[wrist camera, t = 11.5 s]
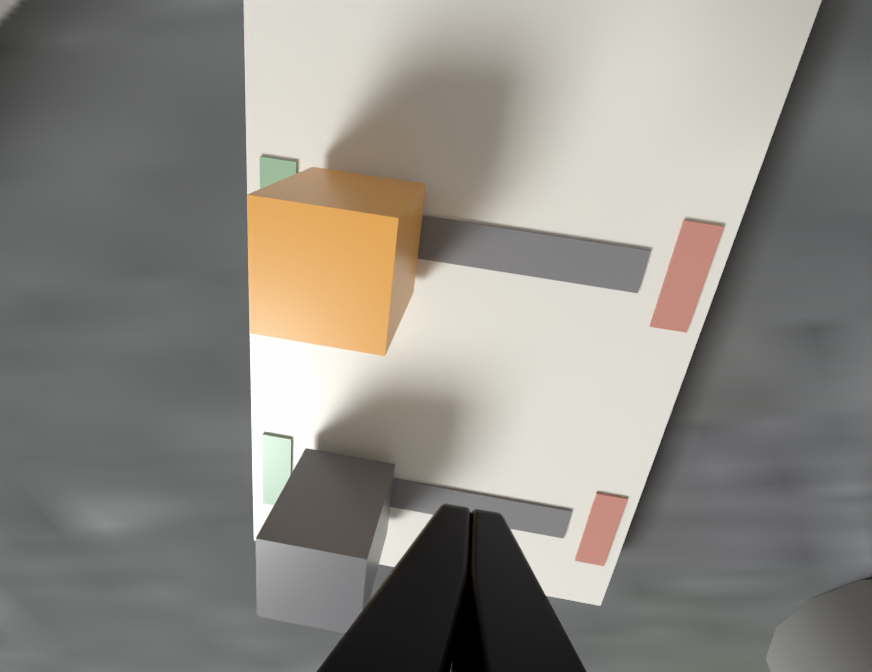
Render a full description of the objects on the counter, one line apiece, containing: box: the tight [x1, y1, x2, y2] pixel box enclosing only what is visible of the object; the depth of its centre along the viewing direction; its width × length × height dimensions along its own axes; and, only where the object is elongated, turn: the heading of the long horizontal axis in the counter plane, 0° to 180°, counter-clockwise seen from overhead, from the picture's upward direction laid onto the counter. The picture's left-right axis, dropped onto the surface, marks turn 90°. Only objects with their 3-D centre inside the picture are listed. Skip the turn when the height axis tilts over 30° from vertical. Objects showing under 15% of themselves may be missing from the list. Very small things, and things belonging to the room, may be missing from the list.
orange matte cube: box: [247, 167, 426, 356], centre depth 13 cm, size 3×3×4 cm
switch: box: [256, 448, 395, 633], centre depth 17 cm, size 3×3×4 cm
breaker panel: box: [244, 0, 822, 606], centre depth 16 cm, size 13×25×2 cm, turn 173°
